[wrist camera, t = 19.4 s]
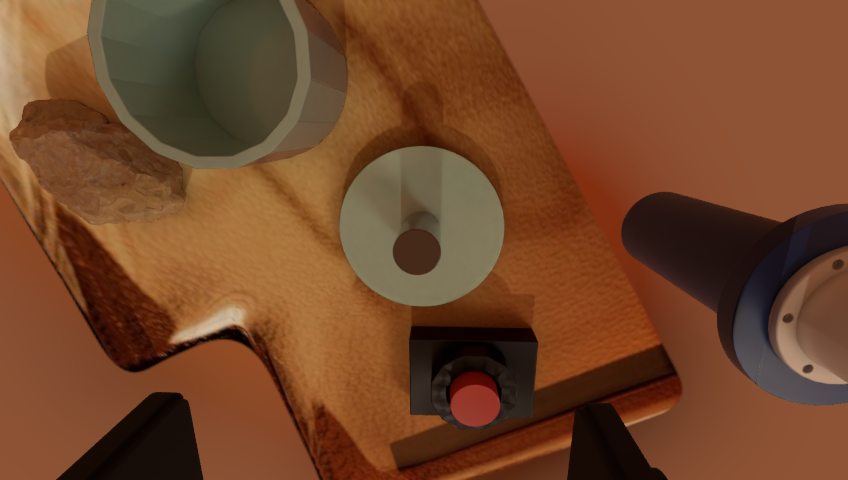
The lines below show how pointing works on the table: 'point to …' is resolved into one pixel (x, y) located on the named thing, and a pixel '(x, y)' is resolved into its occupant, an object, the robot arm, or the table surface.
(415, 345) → the button block
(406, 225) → the lid
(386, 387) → the table surface
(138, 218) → the stone tool
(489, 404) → the button
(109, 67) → the jar
